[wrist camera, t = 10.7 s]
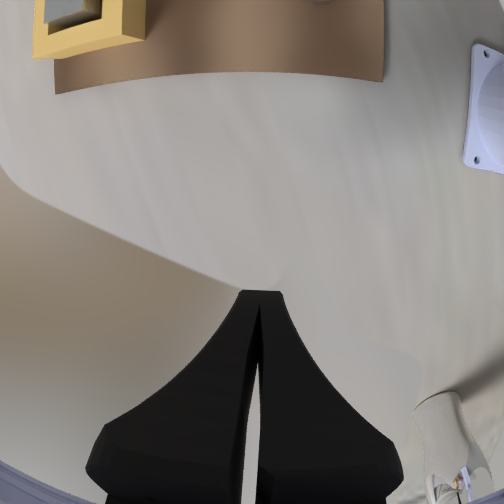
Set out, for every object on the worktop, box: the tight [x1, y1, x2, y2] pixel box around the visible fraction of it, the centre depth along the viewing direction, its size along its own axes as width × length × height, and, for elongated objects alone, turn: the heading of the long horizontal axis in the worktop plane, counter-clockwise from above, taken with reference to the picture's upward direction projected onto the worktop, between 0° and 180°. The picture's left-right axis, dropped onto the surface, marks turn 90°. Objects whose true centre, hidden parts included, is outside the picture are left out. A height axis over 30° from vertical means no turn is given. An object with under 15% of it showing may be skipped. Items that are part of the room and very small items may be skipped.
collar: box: [33, 0, 146, 59], centre depth 11 cm, size 6×6×3 cm
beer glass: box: [412, 391, 495, 504], centre depth 22 cm, size 7×7×15 cm
